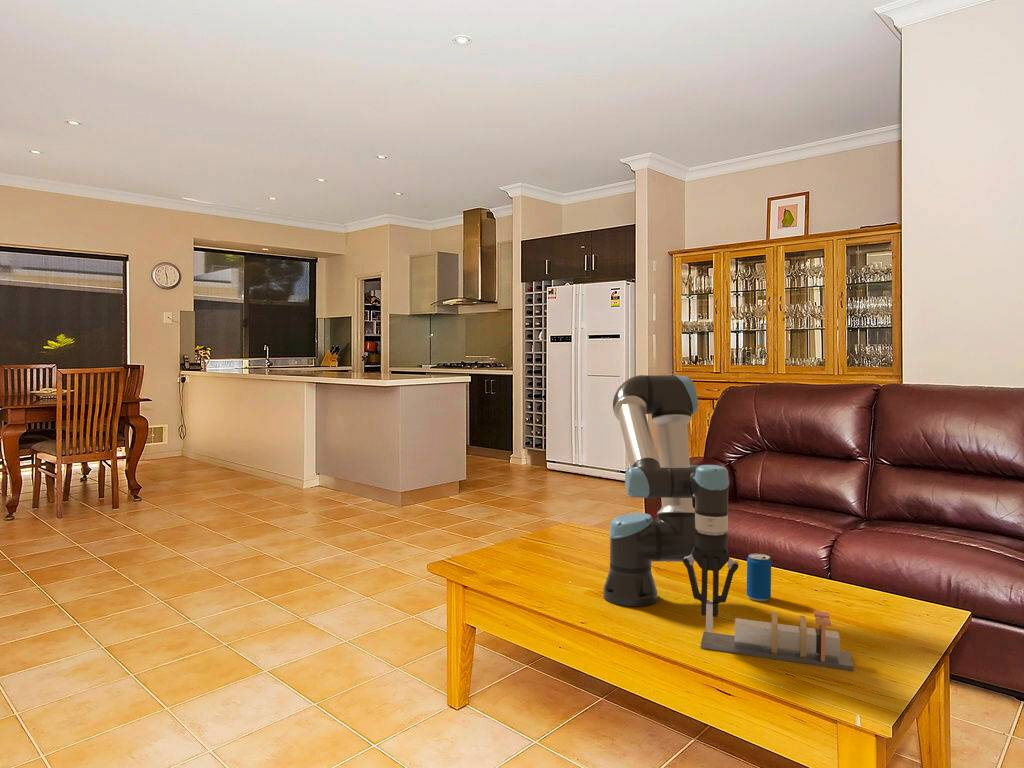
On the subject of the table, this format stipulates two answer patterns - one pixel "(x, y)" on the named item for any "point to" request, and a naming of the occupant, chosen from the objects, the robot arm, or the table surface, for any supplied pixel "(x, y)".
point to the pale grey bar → (785, 636)
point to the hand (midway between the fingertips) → (709, 629)
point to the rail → (773, 652)
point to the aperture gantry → (822, 628)
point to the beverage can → (759, 577)
